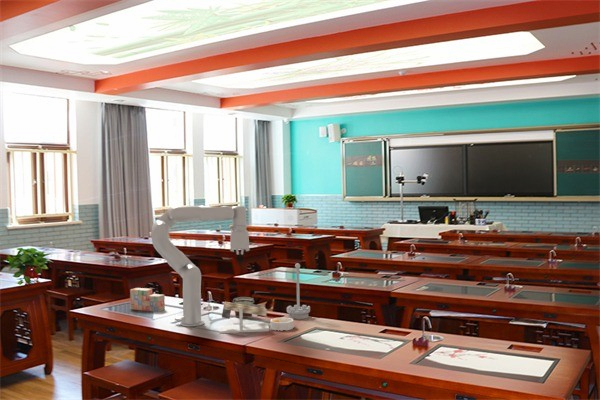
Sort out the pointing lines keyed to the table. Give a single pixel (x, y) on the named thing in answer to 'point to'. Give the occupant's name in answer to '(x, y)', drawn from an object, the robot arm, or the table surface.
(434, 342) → the table surface
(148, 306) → the stack of blocks
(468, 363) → the table surface
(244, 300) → the food container
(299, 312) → the flag stand
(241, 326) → the catapult stand
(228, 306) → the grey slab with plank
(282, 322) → the white bowl
